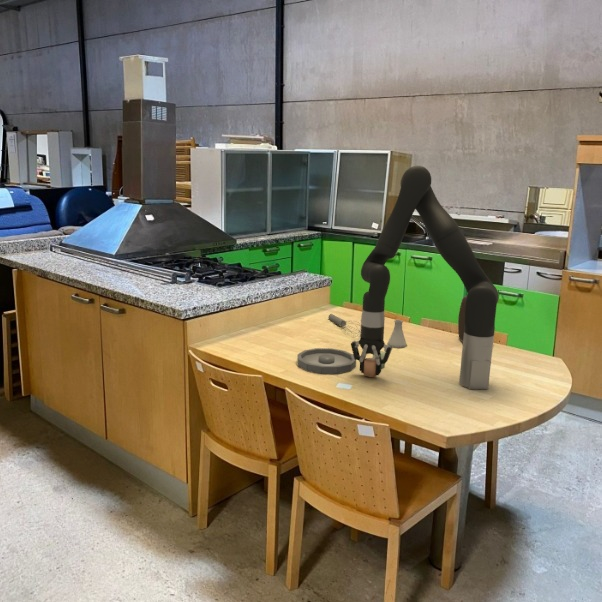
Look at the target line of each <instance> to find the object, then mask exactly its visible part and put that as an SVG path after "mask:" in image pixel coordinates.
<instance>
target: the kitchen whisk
mask: <svg viewBox="0 0 602 602" xmlns="http://www.w3.org/2000/svg"><path fill="white" fill-rule="evenodd" d="M328 320H330V321H332V322H333V323H335V324H337V325H339V326H341V327H342V328H343V330H348V331H350V329H351V330H353V331H356V332H357V333H354V335H356V334H357V335H356V336H355V338H357V337H359V336H358V335H360V334H361V322H360V323H359V322H358V321H357V320H354V322H356V323H354V322H351V320H344V319H342V318H340V317H339V316H336V315H334V314H333V313H330V314H328ZM349 322H350V324H351V325H355V327H356V328H357V329H356V328H355V327H353V326H351V325H347V323H349ZM357 323H358V324H357ZM358 326H360V327H359V328H358ZM346 328H347V329H346ZM348 334H349V335H351V332H348Z"/></svg>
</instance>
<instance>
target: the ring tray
mask: <svg viewBox="0 0 602 602" xmlns="http://www.w3.org/2000/svg"><path fill="white" fill-rule="evenodd" d="M296 355H297V356H296V357H297V360H296V362H297V366H298V368H301V370H303V371H306V372H310V373H315V374H320V375H339V374H343V373H344V374H345V373H348V372H352V370H354V369H355V368H356V366H357V360H355V359H354V355H353V353H350V352H349V351H347V350H342V349H336V348H330V347H329V348H328V347H326V348H325V347H323V348H322V347H319V348H318V347H317V348H311V349H305V350H302V351H301V352H299V353H298V354H296Z"/></svg>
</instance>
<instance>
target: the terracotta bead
mask: <svg viewBox="0 0 602 602" xmlns="http://www.w3.org/2000/svg"><path fill="white" fill-rule="evenodd" d="M376 364H377V363H376V359H375V358H373V357H366V358H365V359H364V372H363V373H362V374H363V376H366V377H369V378H372V377H377V375H376Z"/></svg>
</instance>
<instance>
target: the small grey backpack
mask: <svg viewBox="0 0 602 602" xmlns="http://www.w3.org/2000/svg"><path fill="white" fill-rule="evenodd" d="M466 297H467V295H464V296H463V297H462V299H461V302H460V306H459V312H458V318H457V319H458V320H457V322H458V323H457V325H458V326H457V327H458V328H457V330H458V331H457V332H458V339H459V340H460V341H461V342H462V343H463V338H464V317H465V304H466Z"/></svg>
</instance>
